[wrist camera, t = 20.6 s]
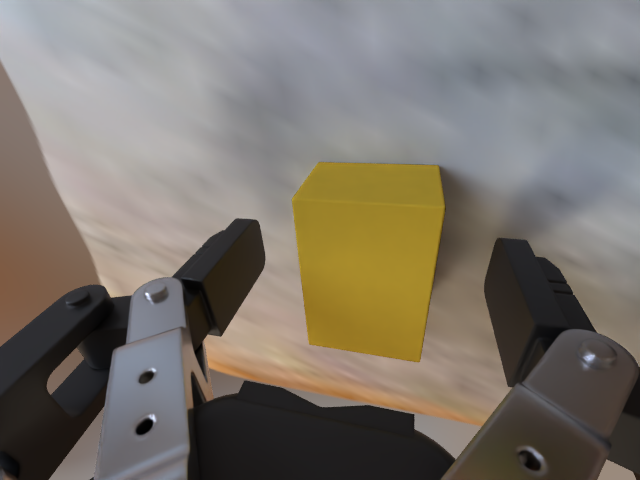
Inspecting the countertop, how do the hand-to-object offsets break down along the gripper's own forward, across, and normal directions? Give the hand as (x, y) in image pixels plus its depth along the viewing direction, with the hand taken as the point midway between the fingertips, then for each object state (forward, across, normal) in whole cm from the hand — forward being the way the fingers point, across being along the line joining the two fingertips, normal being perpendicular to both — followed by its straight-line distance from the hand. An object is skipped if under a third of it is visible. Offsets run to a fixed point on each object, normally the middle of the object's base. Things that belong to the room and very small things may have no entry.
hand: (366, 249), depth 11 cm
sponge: (+1, 0, 0) cm, 1 cm away
